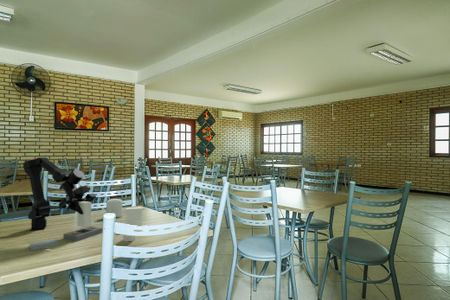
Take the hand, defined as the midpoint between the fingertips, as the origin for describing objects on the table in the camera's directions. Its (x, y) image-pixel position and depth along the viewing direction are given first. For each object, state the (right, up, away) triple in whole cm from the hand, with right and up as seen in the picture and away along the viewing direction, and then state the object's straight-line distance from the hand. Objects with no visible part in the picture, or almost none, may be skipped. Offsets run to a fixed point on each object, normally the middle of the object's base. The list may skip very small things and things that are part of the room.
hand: (86, 213), depth 141 cm
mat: (-13, -12, -13) cm, 22 cm away
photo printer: (-3, -13, +43) cm, 45 cm away
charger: (-1, -6, 0) cm, 7 cm away
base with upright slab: (+19, -13, +17) cm, 29 cm away
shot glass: (+24, -13, -3) cm, 27 cm away
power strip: (-2, -12, 0) cm, 12 cm away
